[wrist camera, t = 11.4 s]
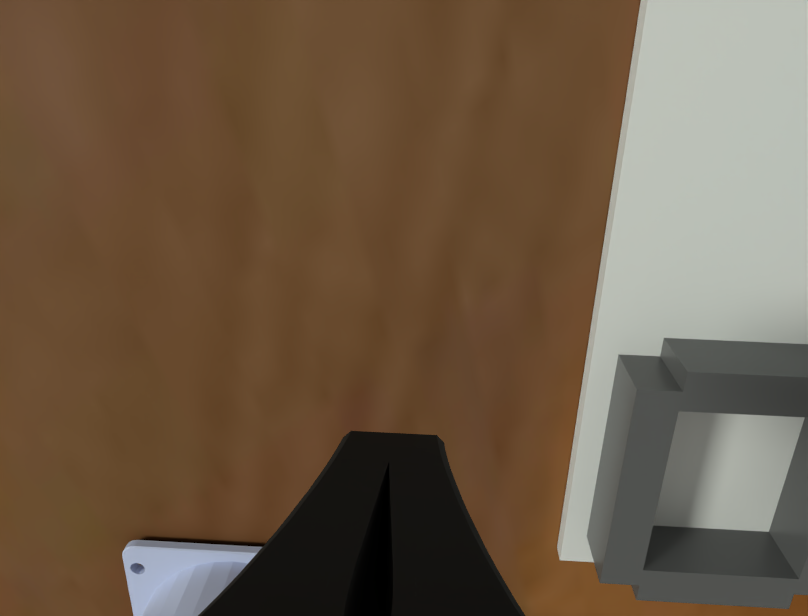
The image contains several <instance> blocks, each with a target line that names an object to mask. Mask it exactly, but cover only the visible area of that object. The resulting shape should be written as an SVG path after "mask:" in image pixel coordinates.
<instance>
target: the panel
mask: <svg viewBox="0 0 808 616" xmlns="http://www.w3.org/2000/svg"><path fill="white" fill-rule="evenodd" d="M557 549H558V554H559V558H560V560H566V561H583V562H594V564H595V568H596V571H597V575H598V578H599V582H600V583H608V584H626V585H632V588H633V591H634V594H635V597H636V600H647V601H664V602H681V603H698V604H715V605H732V606H749V607H766V608H783V609H789V607H790V604H791V601H792V598H793V595H794V594H799V595H808V0H641V3H640V9H639V16H638V22H637V29H636V35H635V42H634V48H633V55H632V61H631V68H630V75H629V81H628V88H627V94H626V101H625V107H624V114H623V120H622V127H621V133H620V140H619V146H618V153H617V159H616V166H615V172H614V179H613V186H612V192H611V199H610V205H609V212H608V218H607V225H606V231H605V238H604V244H603V251H602V257H601V264H600V270H599V277H598V283H597V290H596V297H595V303H594V310H593V316H592V323H591V329H590V336H589V342H588V349H587V355H586V362H585V368H584V375H583V381H582V388H581V394H580V401H579V408H578V414H577V421H576V427H575V434H574V440H573V447H572V453H571V460H570V466H569V473H568V479H567V486H566V492H565V499H564V505H563V512H562V519H561V525H560V532H559V538H558V545H557Z"/></svg>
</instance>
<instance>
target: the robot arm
mask: <svg viewBox="0 0 808 616" xmlns="http://www.w3.org/2000/svg"><path fill="white" fill-rule="evenodd" d="M122 557H123V562H124V567H125V573H126V578H127V583H128V589H129V594H130V599H131V605H132V610H133V615H134V616H385V615H386V616H525V615H524V613H523V612H522V610H521V608H520V607H519V605H518V603H517V602H516V600H515V599H514V597H513V595H512V594H511V592H510V590H509V588H508V587H507V585H506V583H505V582H504V580H503V578H502V576H501V575H500V573H499V571H498V570H497V568H496V566H495V564H494V562H493V561H492V559H491V557H490V555H489V553H488V551H487V549H486V548H485V546H484V544H483V542H482V539H481V537H480V535H479V533H478V531H477V529H476V527H475V525H474V523H473V521H472V519H471V517H470V515H469V513H468V511H467V509H466V506H465V504H464V502H463V500H462V497H461V495H460V492H459V490H458V487H457V485H456V482H455V480H454V477H453V474H452V471H451V469H450V466H449V462H448V459H447V455H446V451H445V446H444V442H443V441H442V440H441V439H440V438H439V437H438V436H437V435H420V434H401V433H381V432H361V431H351V432H349V433H348V434H347V435H346V436H344V437H343V439H342V441H341V442H340V444H339V446H338V448H337V449H336V451H335V452H334V454H333V456H332V457H331V459H330V460H329V462H328V463H327V465H326V466H325V468H324V469H323V471H322V472H321V474H320V475H319V476H318V478H317V479H316V481H315V482H314V483H313V485H312V486H311V488H310V489H309V490H308V492H307V493H306V494H305V495H304V497H303V498H302V499H301V501H300V502H299V503H298V504H297V506H296V507H295V508H294V510H293V511H292V512H291V513H290V515H289V516H288V517H287V519H286V520H285V521H284V523H283V524H282V525H281V526H280V527H279V529H278V530H277V531H276V532H275V533H274V535H273V536H272V537H271V538H270V539H269V540H268V541H267V543H266V544H265V545H264V546H263V547H255V546H237V545H220V544H202V543H184V542H167V541H149V540H133V541H131V542H129V543H128V544H127V546H126V547H125V549H124V551H123V555H122ZM137 563H139V564H141V565H143V566H141V565H139V564H137Z"/></svg>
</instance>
